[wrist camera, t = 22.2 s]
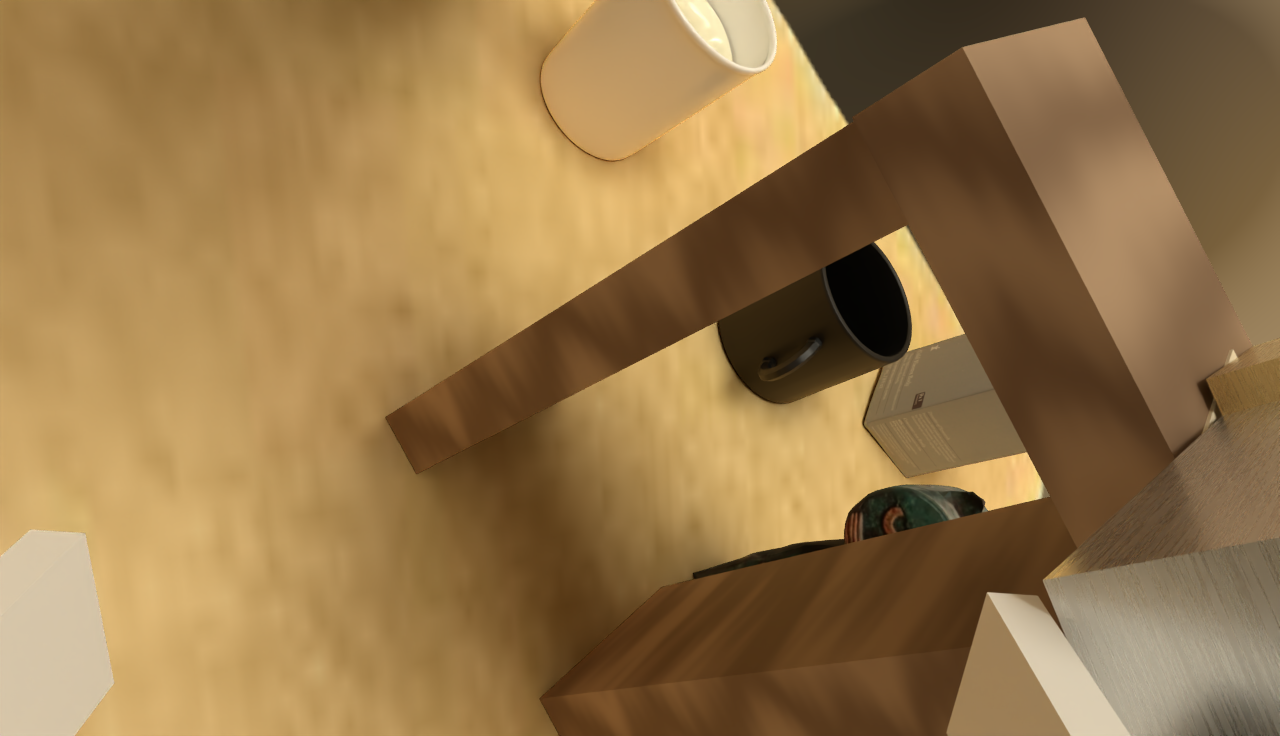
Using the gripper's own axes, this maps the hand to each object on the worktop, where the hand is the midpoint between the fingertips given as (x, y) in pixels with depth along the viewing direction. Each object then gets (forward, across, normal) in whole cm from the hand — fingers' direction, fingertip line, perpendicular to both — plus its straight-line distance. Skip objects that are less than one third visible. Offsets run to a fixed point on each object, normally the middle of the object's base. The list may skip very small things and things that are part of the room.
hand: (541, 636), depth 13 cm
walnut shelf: (+27, -2, -17) cm, 32 cm away
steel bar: (+7, +15, -1) cm, 17 cm away
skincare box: (+53, +24, -21) cm, 62 cm away
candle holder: (+50, -2, +2) cm, 50 cm away
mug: (+47, +11, -14) cm, 50 cm away
